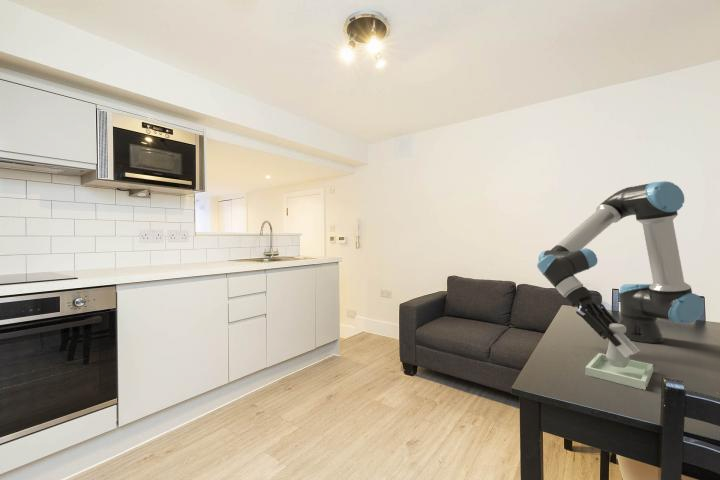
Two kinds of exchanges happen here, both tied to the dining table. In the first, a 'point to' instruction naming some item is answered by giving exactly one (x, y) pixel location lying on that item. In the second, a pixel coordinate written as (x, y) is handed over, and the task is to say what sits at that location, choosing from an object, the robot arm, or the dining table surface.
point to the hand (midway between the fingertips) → (632, 354)
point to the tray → (620, 372)
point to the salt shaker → (612, 352)
